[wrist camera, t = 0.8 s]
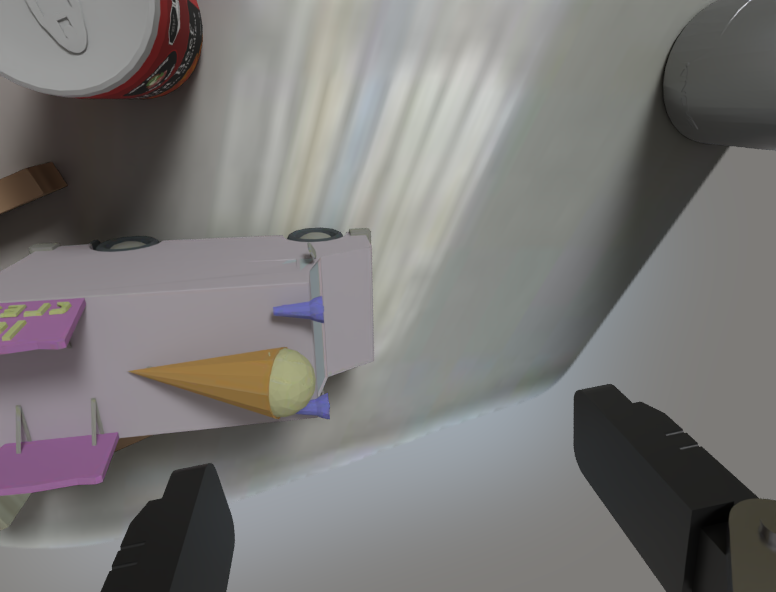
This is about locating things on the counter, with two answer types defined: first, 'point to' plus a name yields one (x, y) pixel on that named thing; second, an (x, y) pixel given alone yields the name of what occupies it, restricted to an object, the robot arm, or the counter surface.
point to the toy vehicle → (171, 342)
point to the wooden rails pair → (3, 199)
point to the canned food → (100, 46)
